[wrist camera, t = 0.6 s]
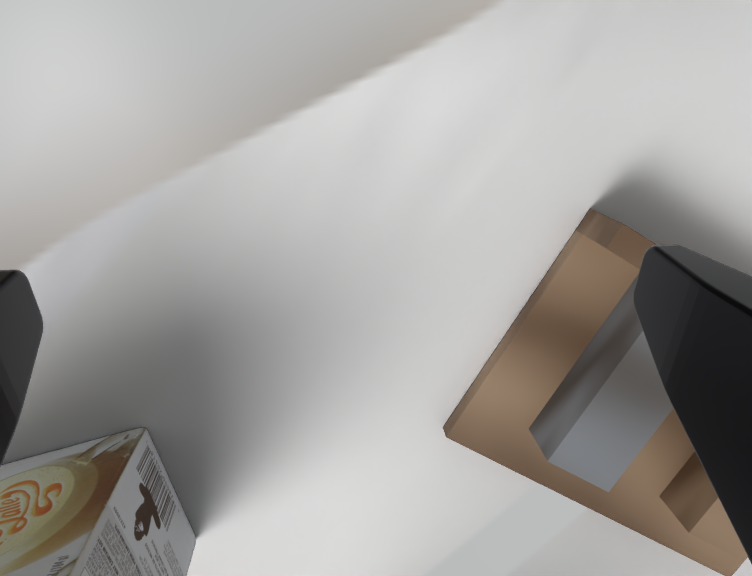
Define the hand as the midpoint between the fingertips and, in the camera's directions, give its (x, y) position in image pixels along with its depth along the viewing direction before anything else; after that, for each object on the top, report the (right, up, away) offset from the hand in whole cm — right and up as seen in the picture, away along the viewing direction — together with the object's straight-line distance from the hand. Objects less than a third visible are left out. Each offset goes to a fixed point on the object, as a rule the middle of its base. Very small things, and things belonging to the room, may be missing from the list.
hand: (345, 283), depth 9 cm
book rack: (+13, -5, +19) cm, 24 cm away
